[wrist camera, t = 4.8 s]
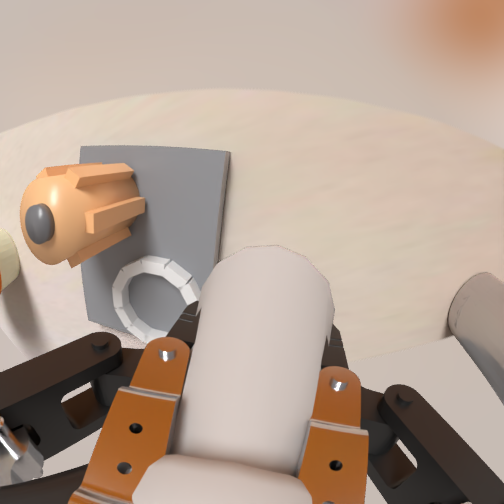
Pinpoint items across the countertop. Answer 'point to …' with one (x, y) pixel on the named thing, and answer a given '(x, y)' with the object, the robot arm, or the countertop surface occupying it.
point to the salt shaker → (247, 384)
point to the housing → (131, 229)
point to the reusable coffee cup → (8, 260)
